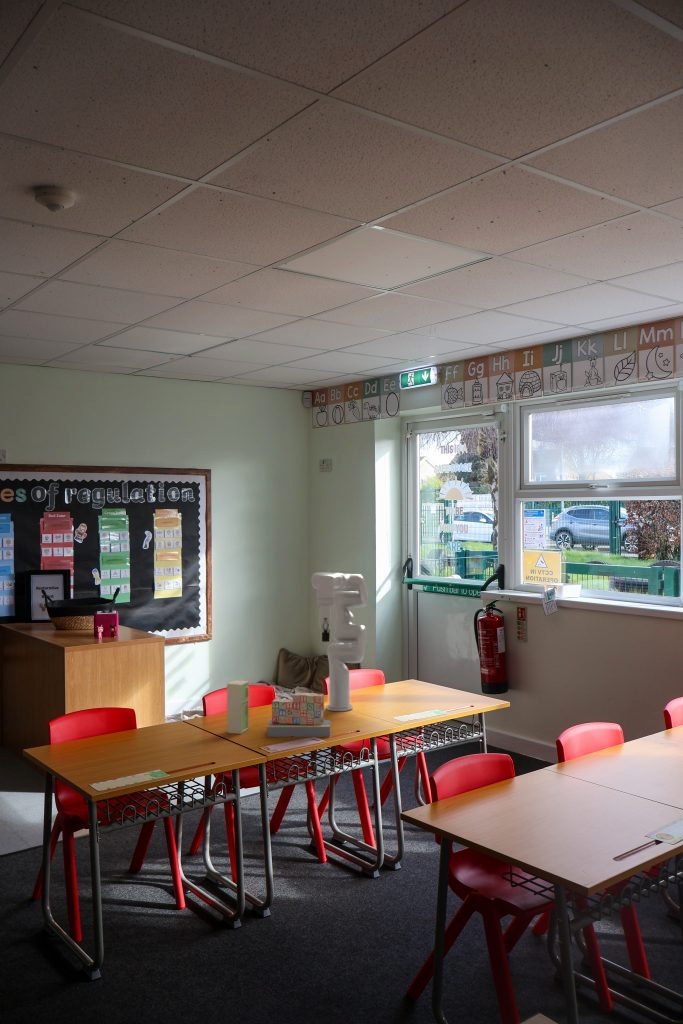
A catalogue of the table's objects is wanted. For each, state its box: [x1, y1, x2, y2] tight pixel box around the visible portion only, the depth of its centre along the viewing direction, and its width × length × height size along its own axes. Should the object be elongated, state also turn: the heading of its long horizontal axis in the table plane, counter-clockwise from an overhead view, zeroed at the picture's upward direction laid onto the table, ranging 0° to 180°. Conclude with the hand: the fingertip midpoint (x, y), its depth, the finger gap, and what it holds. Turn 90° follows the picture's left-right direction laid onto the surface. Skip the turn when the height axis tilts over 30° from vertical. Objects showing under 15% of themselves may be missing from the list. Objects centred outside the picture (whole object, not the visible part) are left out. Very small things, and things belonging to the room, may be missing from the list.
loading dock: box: [266, 719, 331, 738], centre depth 362 cm, size 12×26×4 cm, turn 90°
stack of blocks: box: [271, 692, 325, 725], centre depth 362 cm, size 21×6×12 cm, turn 79°
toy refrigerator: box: [226, 679, 250, 735], centre depth 365 cm, size 8×7×21 cm
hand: (325, 639), depth 383 cm, fingers open, 9 cm apart
